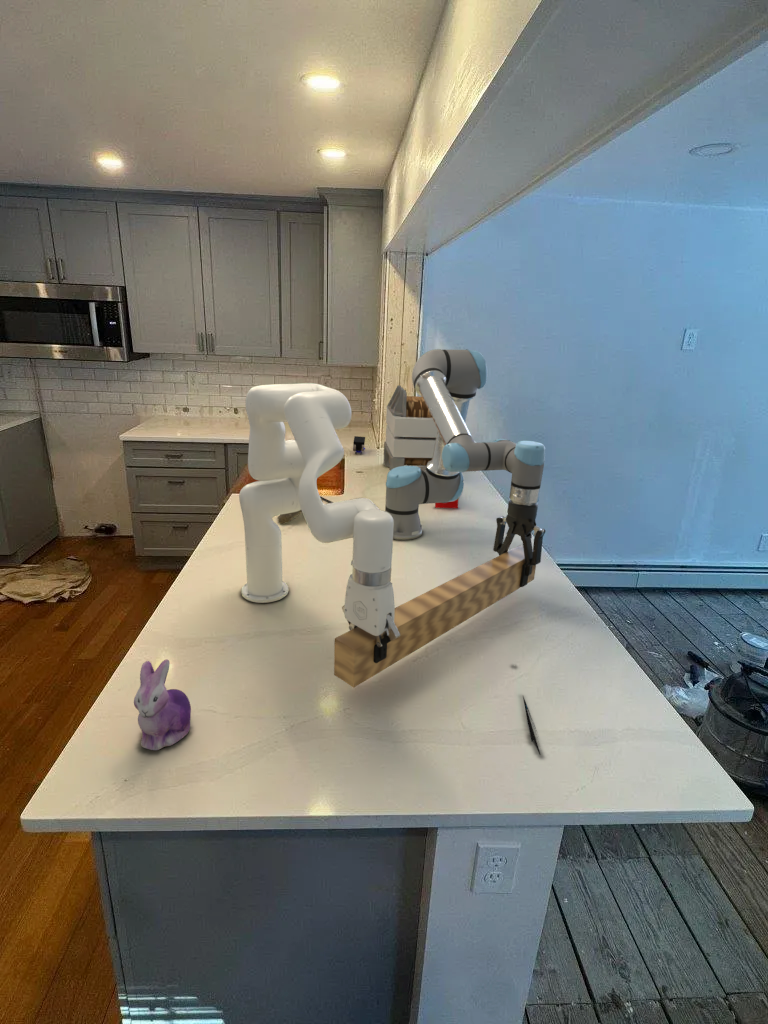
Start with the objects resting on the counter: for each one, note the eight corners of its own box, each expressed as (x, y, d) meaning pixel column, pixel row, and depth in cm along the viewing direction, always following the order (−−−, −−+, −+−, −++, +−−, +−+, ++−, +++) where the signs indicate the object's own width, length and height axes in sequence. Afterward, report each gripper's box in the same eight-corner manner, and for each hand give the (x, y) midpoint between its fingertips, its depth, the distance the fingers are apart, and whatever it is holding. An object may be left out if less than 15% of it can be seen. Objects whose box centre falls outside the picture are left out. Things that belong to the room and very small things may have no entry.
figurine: (141, 761, 97) (132, 687, 92) (135, 723, 105) (126, 654, 100) (198, 744, 101) (192, 673, 96) (188, 709, 110) (182, 642, 104)
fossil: (282, 494, 222) (311, 473, 217) (298, 512, 225) (327, 492, 220) (267, 519, 202) (298, 497, 198) (285, 538, 205) (316, 517, 200)
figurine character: (364, 457, 303) (365, 448, 317) (365, 444, 300) (365, 435, 313) (352, 457, 303) (353, 447, 316) (352, 444, 300) (353, 434, 313)
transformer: (382, 463, 289) (386, 382, 275) (445, 464, 293) (451, 384, 279) (390, 482, 257) (394, 392, 243) (460, 483, 261) (468, 394, 247)
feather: (514, 670, 128) (520, 664, 128) (540, 759, 101) (547, 752, 101) (508, 666, 128) (514, 660, 127) (532, 755, 101) (539, 747, 101)
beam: (516, 572, 162) (519, 545, 159) (534, 579, 158) (538, 551, 155) (333, 674, 114) (334, 638, 111) (353, 688, 110) (354, 650, 107)
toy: (452, 466, 252) (464, 476, 223) (451, 496, 255) (462, 509, 226) (425, 465, 252) (433, 475, 222) (424, 495, 254) (431, 508, 225)
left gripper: (327, 564, 112) (326, 642, 118) (391, 595, 101) (386, 680, 107) (354, 554, 117) (352, 629, 124) (418, 582, 106) (412, 664, 113)
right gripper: (485, 495, 151) (476, 573, 159) (549, 513, 139) (536, 597, 147) (500, 489, 156) (491, 566, 164) (563, 507, 144) (550, 588, 152)
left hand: (368, 652), depth 115 cm, fingers closed on beam, 5 cm apart
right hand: (512, 581), depth 155 cm, fingers closed on beam, 6 cm apart
